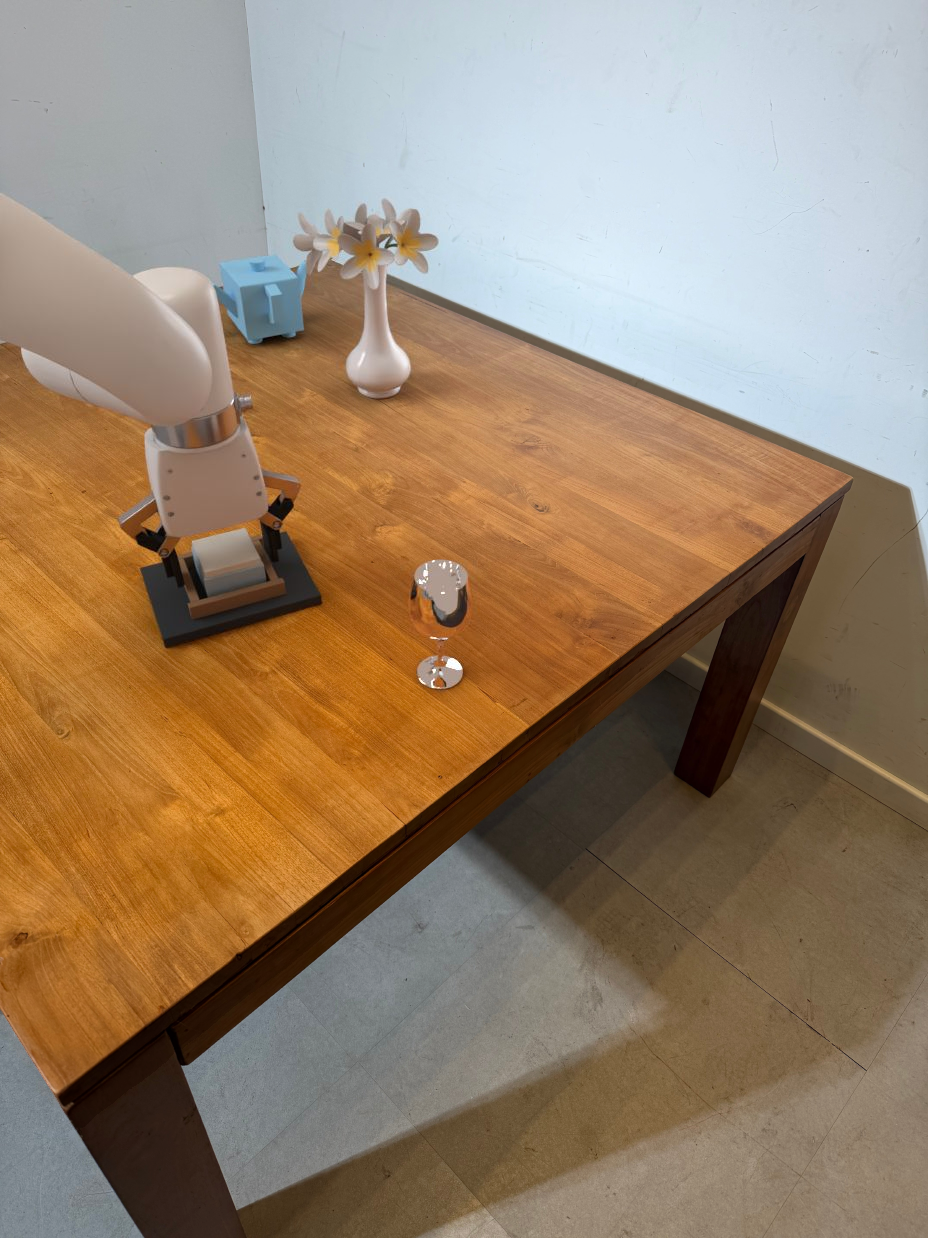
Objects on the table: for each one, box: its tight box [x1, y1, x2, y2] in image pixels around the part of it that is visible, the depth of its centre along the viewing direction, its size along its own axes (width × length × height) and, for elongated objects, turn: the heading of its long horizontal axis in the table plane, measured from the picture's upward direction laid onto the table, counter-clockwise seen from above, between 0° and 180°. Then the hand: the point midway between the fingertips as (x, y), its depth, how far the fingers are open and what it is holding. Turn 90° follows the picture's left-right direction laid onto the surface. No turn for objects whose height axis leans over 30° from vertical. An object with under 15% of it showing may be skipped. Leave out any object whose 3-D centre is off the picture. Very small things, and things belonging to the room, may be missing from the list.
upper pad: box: [190, 527, 267, 598], centre depth 86 cm, size 6×6×4 cm
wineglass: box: [407, 559, 474, 690], centre depth 76 cm, size 6×6×12 cm
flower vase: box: [292, 197, 440, 400], centre depth 112 cm, size 13×18×25 cm
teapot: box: [211, 254, 308, 345], centre depth 130 cm, size 16×18×11 cm
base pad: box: [139, 530, 323, 649], centre depth 87 cm, size 16×12×3 cm
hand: (226, 566), depth 86 cm, fingers open, 9 cm apart
